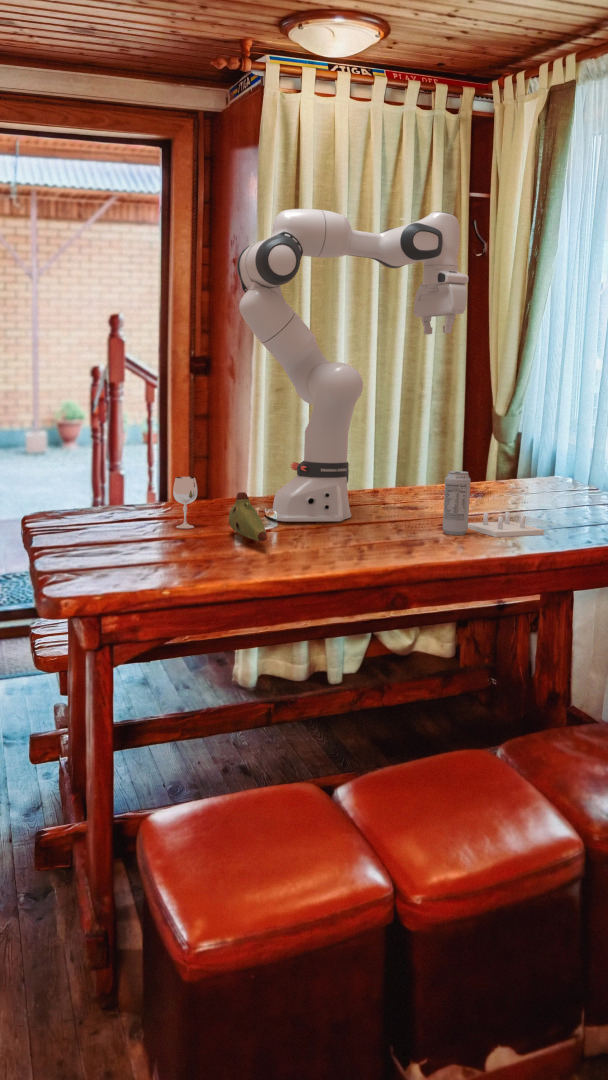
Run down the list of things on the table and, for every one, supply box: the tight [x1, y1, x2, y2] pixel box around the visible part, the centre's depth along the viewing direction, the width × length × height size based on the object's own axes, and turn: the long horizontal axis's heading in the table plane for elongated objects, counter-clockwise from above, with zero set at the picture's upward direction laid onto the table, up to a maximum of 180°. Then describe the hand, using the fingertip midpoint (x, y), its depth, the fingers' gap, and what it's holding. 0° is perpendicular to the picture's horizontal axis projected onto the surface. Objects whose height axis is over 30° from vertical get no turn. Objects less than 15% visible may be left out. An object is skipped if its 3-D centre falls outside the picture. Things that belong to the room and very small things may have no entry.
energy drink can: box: [442, 470, 472, 536], centre depth 218 cm, size 6×6×15 cm
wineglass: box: [172, 476, 198, 529], centre depth 217 cm, size 6×6×12 cm
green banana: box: [228, 491, 268, 542], centre depth 206 cm, size 20×5×10 cm, turn 27°
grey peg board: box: [468, 511, 545, 538], centre depth 224 cm, size 14×14×4 cm
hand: (437, 333), depth 235 cm, fingers open, 8 cm apart
